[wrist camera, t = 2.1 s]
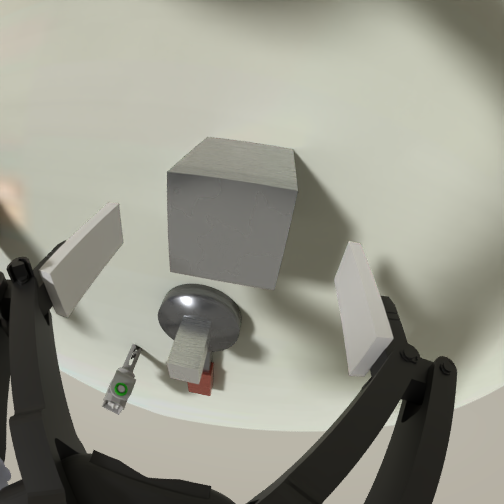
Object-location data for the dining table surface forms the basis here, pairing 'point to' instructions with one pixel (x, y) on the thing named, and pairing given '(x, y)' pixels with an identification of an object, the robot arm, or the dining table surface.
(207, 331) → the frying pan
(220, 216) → the gray rectangular block
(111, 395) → the mechanical component
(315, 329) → the dining table surface
